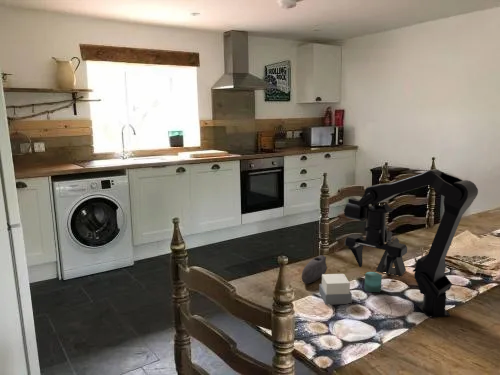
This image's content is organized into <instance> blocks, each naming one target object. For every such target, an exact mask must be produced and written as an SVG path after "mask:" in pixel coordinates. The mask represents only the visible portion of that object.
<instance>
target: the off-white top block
mask: <svg viewBox="0 0 500 375" xmlns="http://www.w3.org/2000/svg"><path fill="white" fill-rule="evenodd" d="M321 284H322V286H323V288H324V290H325V292H326V294H350V292H351V289H350V288H351V283H350V281H349V280H348V278H347V277H346V275H345V274H344V273H327V274H326V273H325V274H322V277H321Z"/></svg>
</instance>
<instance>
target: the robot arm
mask: <svg viewBox="0 0 500 375" xmlns="http://www.w3.org/2000/svg"><path fill="white" fill-rule="evenodd" d="M426 186H430V188H432V189H433V190H434V191H436V192H437V194H439V195H441V196H443V214H442V217H441V219H440V222H439V225H438V227H437V229H436V231H435V232H436V233H435V235H434V237H433V240H432V243H431V245H430V248H429V251H428V254H426V255H424V256H422V257H419V258H418V259H417V260H416V264H415V268H414V269H413V270H412V272H414V274H413V278H414V280H415V282H416V283H417V287H418V290H419V293H420V294H422V295H423V297H422V304H418V305H417V307H418V309H420V311H422V312H423V313H424V315H425V316H427V317H428V318H437V317H438V318H440V317H450V316H451V313H449V311H447V310H446V305H447V292H448V291H450V289H451V288H452V286H453V283H452V282H451V281H450V278H448V277H447V276H446V273H445V272H446V267H447V266H446V257H447V255H448V252H449V249H450V247H451V244H452V241H453V240H454V237H455V235H456V232H457V230H458V228H459V224H460V222H461V219H462V218H463V216H464V214H465V213H466V211H467V210H468V209H469V208H470V207H471V205H472V204H473V202H474V201H475V200H476V198H477V196H478V194H479V189H478V187H477V185H476V184H475V183H474V182H473V181H471V180H467V179H464V180H463V179H461V178H459V177H456V176H453V175H450V174H448V173H445V172H443V171H441V170H439V169H434V168H433V169H430V170H426V171H425V172H423V173H419V174H417V175H413V176H410V177H408V178H404V179H400V180H398V181H394V182H384V183H380V184H379V183H378V184H373V185H370V186H367V187H366V188H365V191H364V194H363V195H362V196H361V198H360V199H357V198H354V197H351V198H348V202H347V203H346V205H345V208H344V210H343V213H344V216H345V218H347V219H350V220H351V219H352V220H355V221H360V222H364V221H366V223H365V224H366V225H365V227H364V232H365V238H364V236H363V235H360V234H356V233H352V234H350V235H348V236H347V237H345V239H344V246H346V247H347V249H349V250H350V251H351V252H352V254H353V255H354V257H355V258H354V259H355V260H356V262H357V265H358V267H359V268H362V267H363V250H364V246H365V247H368V248H369V247H370V248H375V249H378V250H383V251H385V250H387V251H388V254H389V255H387V260H386V273H385V274H386V275H390V274H389V272H390V270H391V268H392V267H394V261H395V260H396V259H397V258H399V257H402V258H403V256H405V255H406V254H407V253H408V247H407V245H406V244H405V243H401V242H399V243H396V242H394V243H393V244H391V245H388V244H386V243H387V242H388V241H391V238H393V237H392V236H393V232H392V231H390V230H388V227H387V225H386V218H387V214H388V213H392V212H393V210H394V209H393V208H392V207H391V206H390V205H389V204H388V203H385V204H381V205H380V203H384V202H387V201H388V200H391V199H393V198H394V197H396V196H397V195H399V194H401V193H406V192H409V191H413V190H416V189H420V188H423V187H426Z"/></svg>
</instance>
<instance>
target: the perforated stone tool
mask: <svg viewBox="0 0 500 375" xmlns="http://www.w3.org/2000/svg"><path fill="white" fill-rule="evenodd" d="M326 258H327V257H326V256H325V255H322V254H320V255H318V256H315V257H314V258H312V259H310V261H308V262H307V264H306V265H305V266H304V268H303V269H302V272H301V280H302V283H303V284H312V283H314V282H316V281H317V280H319V279H320V278H321V279H322V274H326V272H327V269H328V266H327V260H326Z"/></svg>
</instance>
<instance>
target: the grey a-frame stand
mask: <svg viewBox="0 0 500 375" xmlns="http://www.w3.org/2000/svg"><path fill="white" fill-rule="evenodd" d="M394 242H396V243H400V240H399V238H398V237H391V241H388V242H385V244H388V245H391V244H393V243H394ZM387 255H389V254H388V251H387V250H384V252H383V254H382V256H381V259H380V260H379V263H378V265H377V267H376V270H375V272H378V271H380V272H379V273H382V272H386V260H387ZM406 271H407V269H406V266H405V262H404V259H403V256H402V257H399V258H397V259H396V260H395V261H394V263H393V266H392V268H391V270H390V272H389V273H390V274H389V275H391V274H394V275H393V276H396V275H398V276H397V277H400V276H401V277H402V276H403V275H404V273H406Z"/></svg>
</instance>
